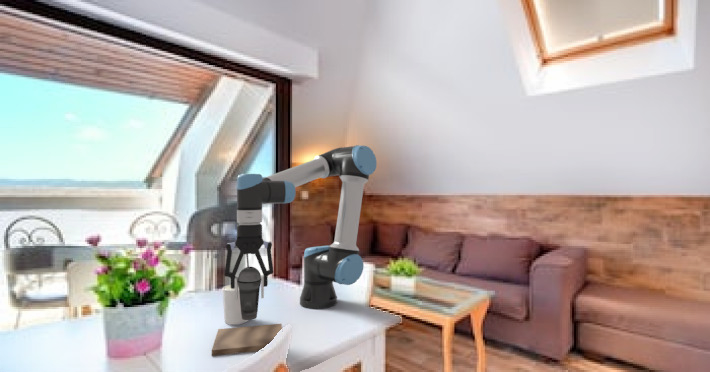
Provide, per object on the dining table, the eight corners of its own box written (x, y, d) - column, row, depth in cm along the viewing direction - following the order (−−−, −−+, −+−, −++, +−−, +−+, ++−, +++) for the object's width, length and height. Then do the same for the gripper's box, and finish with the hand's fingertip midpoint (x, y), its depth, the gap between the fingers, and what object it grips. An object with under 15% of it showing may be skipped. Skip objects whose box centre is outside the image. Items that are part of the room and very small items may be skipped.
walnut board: (281, 328, 124) (281, 323, 124) (283, 348, 109) (283, 343, 109) (218, 333, 119) (218, 329, 119) (211, 355, 104) (211, 350, 104)
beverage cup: (248, 323, 109) (248, 255, 109) (231, 318, 113) (232, 253, 113) (266, 316, 115) (266, 252, 115) (250, 312, 119) (250, 249, 119)
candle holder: (242, 326, 125) (242, 291, 125) (216, 324, 127) (216, 289, 127) (256, 316, 135) (256, 284, 135) (231, 315, 137) (231, 282, 137)
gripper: (213, 225, 108) (213, 304, 108) (283, 224, 113) (282, 299, 113) (216, 223, 115) (216, 296, 115) (281, 221, 120) (281, 292, 120)
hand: (249, 297), depth 114 cm, fingers closed on beverage cup, 7 cm apart
